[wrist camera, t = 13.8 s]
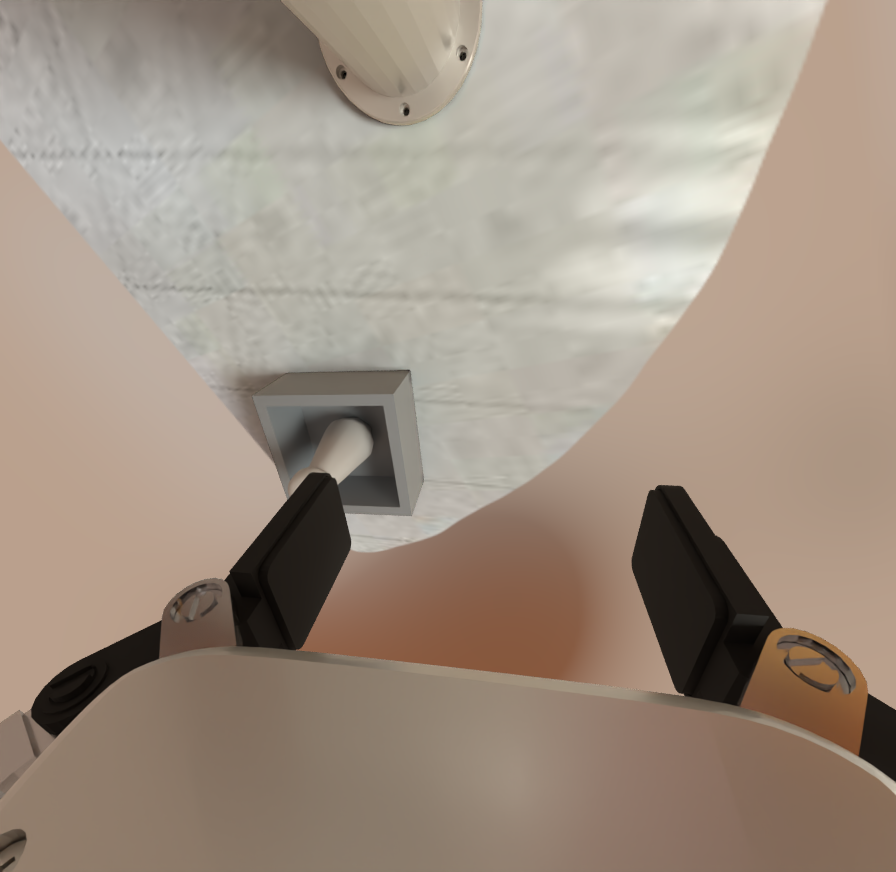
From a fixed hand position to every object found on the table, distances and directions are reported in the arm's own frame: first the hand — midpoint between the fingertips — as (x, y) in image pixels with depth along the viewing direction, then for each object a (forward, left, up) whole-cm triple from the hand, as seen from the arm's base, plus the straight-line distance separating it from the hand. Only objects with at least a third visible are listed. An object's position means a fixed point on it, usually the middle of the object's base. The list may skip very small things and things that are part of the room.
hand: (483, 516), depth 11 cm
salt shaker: (+13, -18, -29) cm, 36 cm away
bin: (+13, -18, -30) cm, 37 cm away
